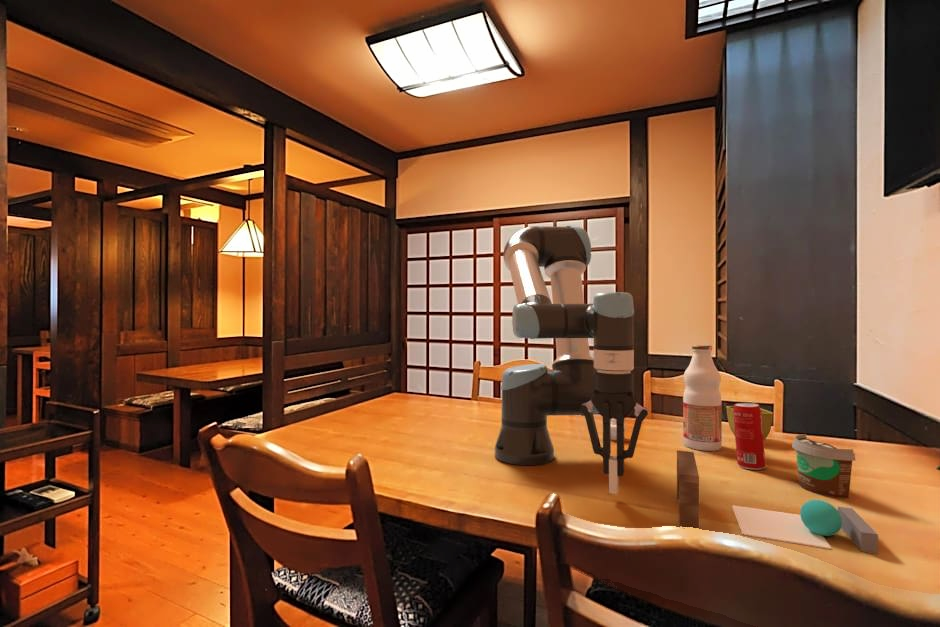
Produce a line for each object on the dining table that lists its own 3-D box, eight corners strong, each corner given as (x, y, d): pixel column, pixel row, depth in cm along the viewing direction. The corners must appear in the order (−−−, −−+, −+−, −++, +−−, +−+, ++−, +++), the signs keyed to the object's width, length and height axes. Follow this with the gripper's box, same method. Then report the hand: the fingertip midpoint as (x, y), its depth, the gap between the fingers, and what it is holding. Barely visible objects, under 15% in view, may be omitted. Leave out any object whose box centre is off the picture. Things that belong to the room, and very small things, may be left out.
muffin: (600, 436, 135) (600, 412, 135) (620, 435, 136) (619, 412, 136) (609, 442, 129) (609, 417, 129) (629, 441, 130) (629, 417, 130)
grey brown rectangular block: (679, 527, 77) (679, 474, 77) (676, 496, 91) (676, 450, 91) (699, 530, 76) (699, 476, 76) (693, 498, 90) (693, 452, 90)
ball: (800, 531, 74) (813, 501, 73) (791, 516, 79) (803, 488, 78) (839, 548, 72) (853, 518, 71) (827, 532, 77) (840, 503, 76)
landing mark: (742, 534, 75) (742, 533, 75) (731, 506, 86) (731, 505, 86) (831, 549, 70) (831, 548, 70) (808, 517, 81) (808, 516, 81)
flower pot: (774, 444, 126) (774, 412, 126) (742, 444, 126) (742, 412, 126) (755, 436, 135) (754, 406, 135) (725, 436, 135) (725, 406, 135)
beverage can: (769, 471, 105) (769, 407, 105) (739, 470, 106) (738, 406, 106) (758, 463, 110) (758, 402, 110) (729, 461, 112) (729, 401, 112)
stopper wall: (861, 551, 70) (861, 531, 70) (837, 523, 79) (837, 506, 79) (877, 554, 69) (877, 534, 69) (852, 525, 78) (852, 508, 78)
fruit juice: (699, 452, 119) (699, 346, 119) (675, 442, 128) (675, 344, 128) (730, 450, 121) (729, 346, 121) (704, 440, 130) (704, 343, 130)
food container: (777, 479, 100) (777, 434, 100) (803, 478, 100) (803, 433, 100) (826, 502, 88) (826, 451, 88) (855, 501, 88) (855, 450, 88)
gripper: (576, 371, 88) (576, 493, 88) (648, 375, 83) (648, 503, 83) (582, 367, 95) (583, 479, 95) (649, 370, 90) (649, 489, 90)
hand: (613, 491), depth 89 cm, fingers closed
